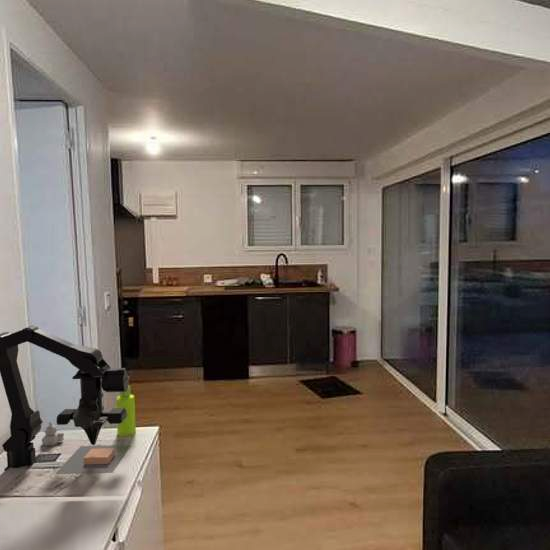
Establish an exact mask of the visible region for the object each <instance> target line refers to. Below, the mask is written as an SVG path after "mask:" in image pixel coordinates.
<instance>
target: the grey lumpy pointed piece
mask: <svg viewBox="0 0 550 550" xmlns="http://www.w3.org/2000/svg"><path fill="white" fill-rule="evenodd" d="M57 431H58V429H57V427H56V425H54V424H53V423H52V422H50V421H48V425H47V426H46V429H45V430H44V431H43V432H44V434H45V435H44V436H43V437H42V439H41V443H42V445H43V446H45V447H51V446H52V447H53V446H55V445H57V444H59V442H63V441H64V439H65V438H64V435H65V433H64V432H63V431H61V432H60V431H59V432H58V433H57Z"/></svg>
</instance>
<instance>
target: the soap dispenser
mask: <svg viewBox="0 0 550 550" xmlns="http://www.w3.org/2000/svg"><path fill="white" fill-rule="evenodd" d="M128 377H129V379H130V376H128ZM135 398H136V397H135V395H134V394H131V385H129V384H128V390H127V391H126V392H119V395H118V396H116V397H115V399H116V404H115V405H116V408H125V409H126V411H127V417H126V418H125V419H124V421H123V422H122V423H119V424H116V427H117V432H116V433H117V435H118V436H121V437H128V436H131V435H134V434H135V433H136V432H137V430H136V428H137V427H136V426H137V425H136V404H135V403H136V402H135V401H136V400H135Z"/></svg>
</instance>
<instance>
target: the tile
mask: <svg viewBox="0 0 550 550" xmlns="http://www.w3.org/2000/svg"><path fill="white" fill-rule="evenodd" d="M114 455H115V448H102V449H91V450H90V451H89V452H88V453H87V454H86V455H85V457H84V464H108V463H109V462H110V461H111V459H112V458H113V457H114Z"/></svg>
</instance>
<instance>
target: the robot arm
mask: <svg viewBox="0 0 550 550" xmlns="http://www.w3.org/2000/svg"><path fill="white" fill-rule="evenodd" d="M26 342H27V343H29V344H31V345H35V346H37V347H38V348H42V349H44V350H46V351H48V352H50V353H52V354H55V355H57V356H59V357H61V358H64V359H65V360H67V361H68V362H69V363H70V365H72V367H75V368H76V369H78V371H77V372H76V373H75V375H73V376H72V377H71V378H72V380H80V382H79V383H80V398H79V401H78V407H77V408H65V409H63V410H62V411H61V412H60V413H59V414H58V415H57V416H56V425H58V426H61V425H62V426H65V425H66V426H67V425H68V424H69V423H70V422H71V420H72V421H73V424H74V427H76V428H81V429H82V430H83V431H84V432H85V435H86V436H87V438H88V441H89V443H90V446H96V444H97V442H98V441H97V440H98V438H99V435H100V432H101V429H102V427H103V426H104V425H105V423H106V422H107V423H109V424H111V425H115V424H116V425H117V424H119V423H122V422H123V421H124V419H125V418H126V417H127V411H126V409H125V408H117V407H113V408H112V409H111V410H110V411H107V412H106V411H105V412H104V410H105V406H104V405H103V397H104V392H105V393H120V392H126V391H127V390H128V385H129V382H130V381H129V377H130V376H129V377H128V372H127V368H126V367H122V368H111V366H110V365H109V364H108V363H107V362H106V360H105V359H104V358H103V354H102V352H101V351H100V349H97V348H95V347H90V346H87V345H79V344H74V343H72V342H69V341H67V340H65V339H63V338H60V337H59V336H56V335H54V334H52V333H49V332H47V331H45V330H43V329H41V328H39V327H38V326H36V325H30V326H27V327H25V328H23V329H21V330H18V331H15V332H10V331H9V332H8V331H5V332H2V333H0V377H1V381H2V384H3V385H2V386H3V387H4V391H5V392H4V393H5V395H6V398H7V402H8V405H9V409H10V413H11V417H10V423H9V431H10V436H9V437H8V438H7V439H6V441H4V443H3V444H1V447H2V448H3V451H4V452H5V453H6V461H7V462H6V463H7V466H6V467H5V468H4V469H3V470H4V471H5V472H6V471H7V470H9V469H10V468H13V469H17V468H18V469H19V468H24V467H29V466H32V465H33V464H34V463H35V462H36V461H37V457H36V455H37V454H36V448H35V447H34V442H32V441H33V440H35V439H36V436H37V435H38V434H39V433H40V431H41V429H42V424H43V420H42V418H41V416H40V415H41V414H40V410H36V411H34V410H33V409H32V408H31V407H30V403H29V401H28V400H29V399H28V396H27V393H26V389H25V386H24V382H23V379H22V376H21V372H20V368H19V365H18V354H19V345H21V344H23V343H26ZM102 390H103V392H102Z"/></svg>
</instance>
